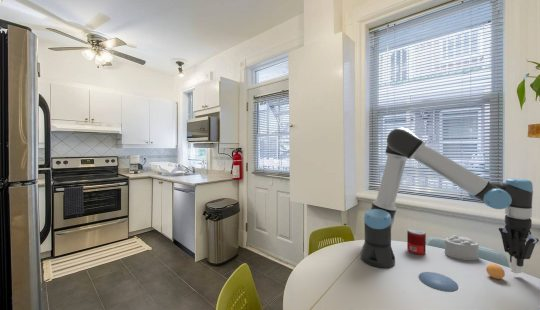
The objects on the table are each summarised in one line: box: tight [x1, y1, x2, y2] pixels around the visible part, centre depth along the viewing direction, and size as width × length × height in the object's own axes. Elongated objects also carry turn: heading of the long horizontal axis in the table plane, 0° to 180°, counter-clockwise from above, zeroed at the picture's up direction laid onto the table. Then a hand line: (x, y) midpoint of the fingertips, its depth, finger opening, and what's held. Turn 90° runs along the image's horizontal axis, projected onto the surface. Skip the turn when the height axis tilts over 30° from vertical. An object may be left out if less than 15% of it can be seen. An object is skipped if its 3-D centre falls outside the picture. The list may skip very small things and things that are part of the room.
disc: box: [418, 271, 459, 292], centre depth 94 cm, size 13×13×1 cm
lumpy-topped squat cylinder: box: [444, 234, 479, 261], centre depth 115 cm, size 10×13×9 cm
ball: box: [485, 263, 506, 280], centre depth 95 cm, size 6×6×6 cm
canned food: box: [406, 227, 427, 256], centre depth 119 cm, size 8×8×11 cm
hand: (516, 272), depth 96 cm, fingers closed
